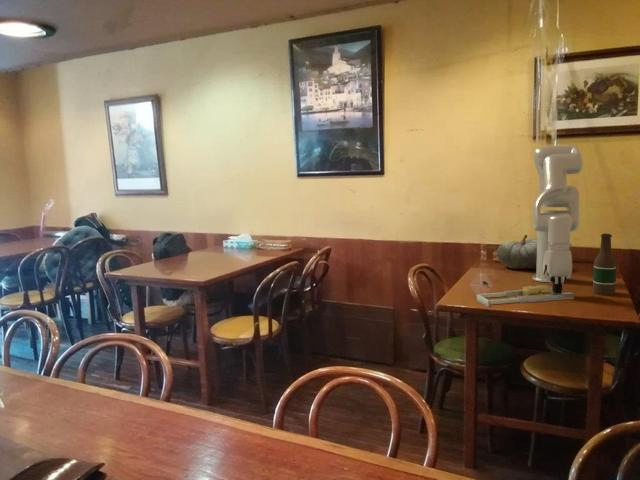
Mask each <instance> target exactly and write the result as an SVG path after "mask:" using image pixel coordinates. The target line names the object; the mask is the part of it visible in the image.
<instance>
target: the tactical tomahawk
mask: <svg viewBox="0 0 640 480" xmlns="http://www.w3.org/2000/svg"><path fill="white" fill-rule="evenodd" d="M482 285H483V287H484V288H489V285H488V282H487V281H485V280H482Z"/></svg>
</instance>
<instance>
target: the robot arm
mask: <svg viewBox="0 0 640 480" xmlns="http://www.w3.org/2000/svg"><path fill="white" fill-rule="evenodd" d="M582 157H583V156H582V153H581V152H580V149H579V147H578V146H577V145H574V144H573V145H572V144H567V145H566V144H565V145H563V144H562V145H545V146H540V147H537V148H536V149H535V150H534V153H533V162H534V165H535V167H536V168H535V169H536V170H537V173H538V180H539V181H538V189H539V190H538V196H537V197H536V199H535V201H534V203H533V207H532V225H533V229H534V230H535V231H536V239H537V264H536V273H535V274H534V275H533V276H532V280H533V281H536V282H541V283H552V287H553V293H563V292H562V291H563V284H564V282H566V280H568V279H570V278H572V274H573V256H572V255H573V254H572V252H571V250H570V248H571V247H572V246H573V245H572V243H570V240H571V239H570V236H571V233H572V232H576V231H577V230H578V228H579V224H580V193H579V189H578V188H577V187H576V186H574V185H568V184H567V183H568V182H567V180H568V179H567V175H576V174H580V173H581V172H582V170H583V165H584V164H583V158H582ZM541 207H544V208H566V209H567V210H562V209H561V210H560V209H559V210H557V209H556V210H554V209H553V210H547V209H546V210H541Z"/></svg>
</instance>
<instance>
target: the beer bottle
mask: <svg viewBox="0 0 640 480" xmlns="http://www.w3.org/2000/svg"><path fill="white" fill-rule="evenodd" d="M600 237H601V240H600V248H599V253H598V254H597V256H596V257H595V259H594V261H593V262H594V263H593V270H592V271H593V275H592V276H593V277H592V293H593V294H595V295H599V296H614V295H615V294H616V287H617V286H616V284H617V281H616V280H617V260H616V259H615V257H614V255H613V253H612V234H610V233H601V234H600ZM613 294H614V295H613Z"/></svg>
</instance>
